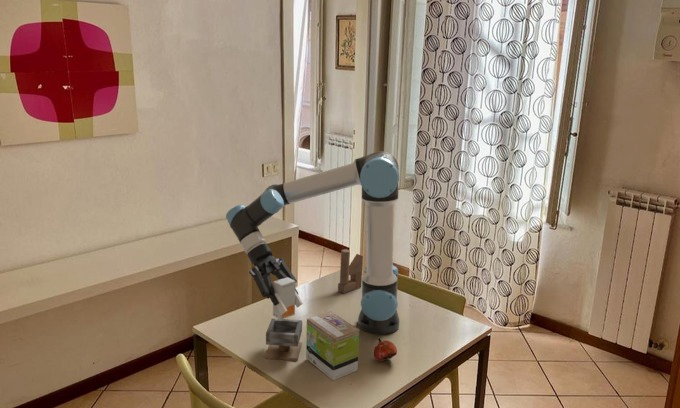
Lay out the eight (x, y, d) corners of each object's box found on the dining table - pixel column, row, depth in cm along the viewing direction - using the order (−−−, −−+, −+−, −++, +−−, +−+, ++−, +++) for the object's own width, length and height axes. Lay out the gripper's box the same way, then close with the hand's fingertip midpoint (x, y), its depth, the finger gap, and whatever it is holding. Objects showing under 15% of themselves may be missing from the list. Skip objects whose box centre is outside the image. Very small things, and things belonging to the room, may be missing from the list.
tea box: (304, 359, 177) (305, 317, 173) (329, 350, 183) (331, 309, 179) (332, 381, 166) (334, 337, 162) (358, 371, 171) (360, 328, 168)
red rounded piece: (399, 368, 178) (389, 340, 183) (403, 360, 172) (393, 331, 177) (377, 373, 176) (368, 344, 181) (381, 365, 170) (371, 335, 176)
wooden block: (361, 287, 234) (363, 247, 229) (343, 294, 226) (345, 252, 222) (355, 284, 236) (357, 244, 232) (337, 291, 229) (338, 250, 224)
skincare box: (280, 320, 175) (280, 285, 172) (272, 315, 178) (272, 281, 174) (295, 315, 179) (296, 280, 176) (287, 310, 182) (287, 276, 179)
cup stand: (301, 344, 186) (302, 320, 184) (297, 360, 176) (297, 335, 174) (271, 342, 186) (271, 318, 184) (265, 358, 177) (265, 333, 174)
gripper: (272, 247, 190) (306, 304, 185) (228, 261, 176) (264, 324, 170) (283, 235, 186) (318, 294, 180) (239, 250, 171) (276, 314, 165)
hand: (292, 309), depth 175 cm, fingers closed on skincare box, 6 cm apart
